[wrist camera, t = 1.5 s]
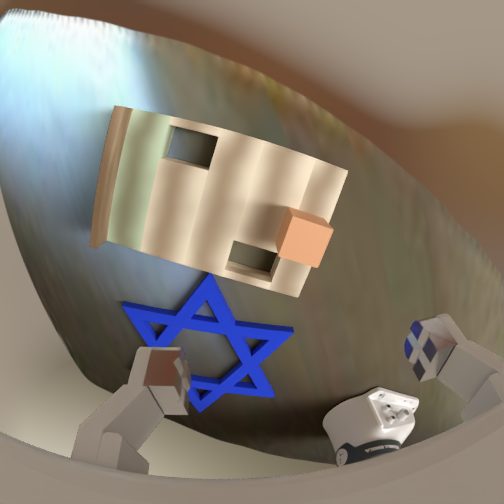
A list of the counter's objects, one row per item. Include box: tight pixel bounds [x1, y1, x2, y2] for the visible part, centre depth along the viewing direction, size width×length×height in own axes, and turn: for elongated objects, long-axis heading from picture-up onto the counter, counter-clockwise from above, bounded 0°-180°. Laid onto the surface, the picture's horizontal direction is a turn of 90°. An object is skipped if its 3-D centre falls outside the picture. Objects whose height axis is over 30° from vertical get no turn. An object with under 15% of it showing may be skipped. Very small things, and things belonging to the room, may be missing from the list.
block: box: [276, 207, 333, 268], centre depth 32 cm, size 4×4×4 cm
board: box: [90, 106, 348, 297], centre depth 33 cm, size 27×17×6 cm, turn 73°
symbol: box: [122, 273, 294, 412], centre depth 44 cm, size 26×2×30 cm
